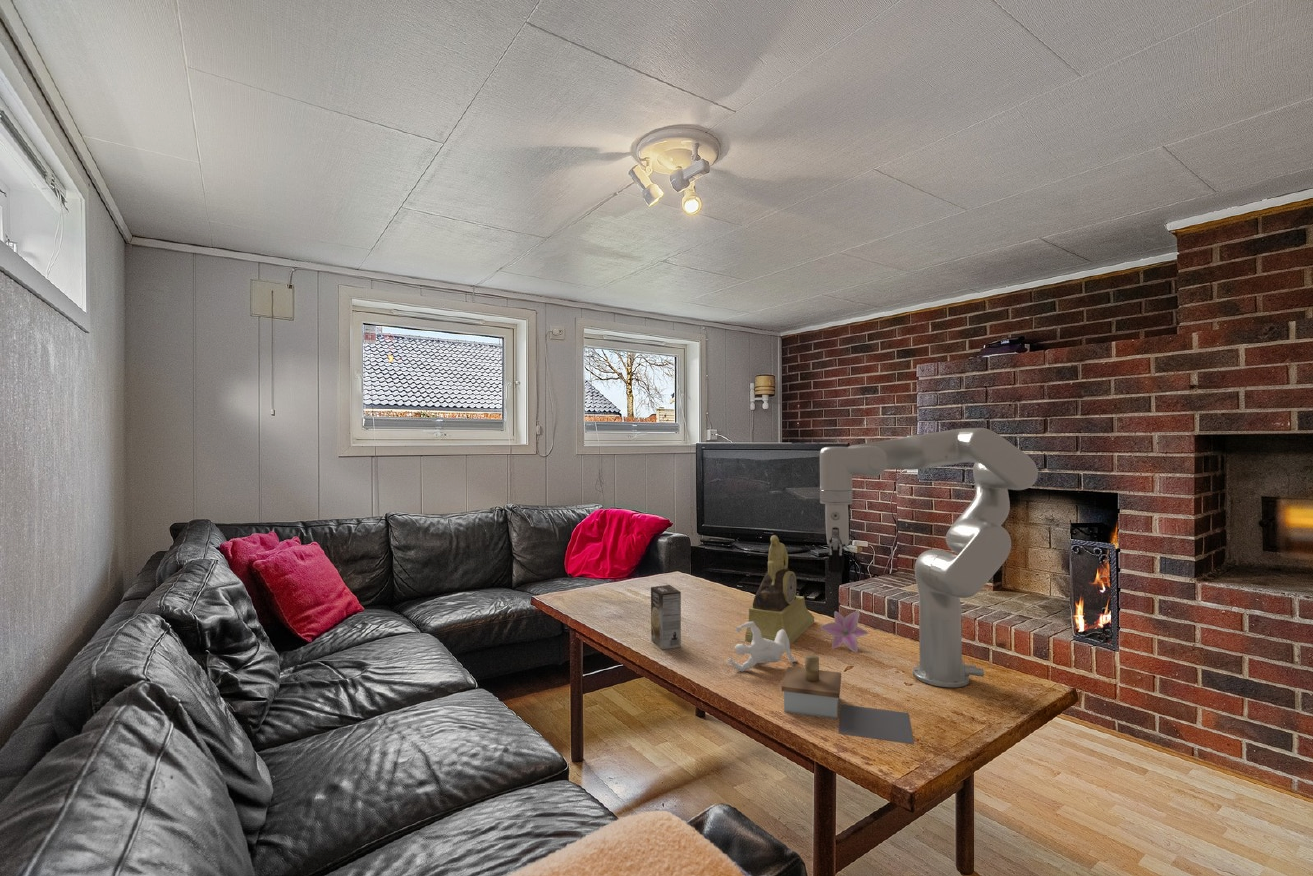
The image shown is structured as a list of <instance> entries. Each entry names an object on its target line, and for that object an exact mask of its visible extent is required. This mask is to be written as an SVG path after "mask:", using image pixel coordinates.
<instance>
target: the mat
mask: <svg viewBox="0 0 1313 876" xmlns="http://www.w3.org/2000/svg"><path fill="white" fill-rule="evenodd" d="M839 708H840V709H839V719H838V720H839V722H838V734H839V735H846V736H854V737H860V738H868V739H874V740H881V741H889V742H895V743H903V744H908V745H915V742H914V736H913V731H912V724H911V719H910V713H909V712H902V711H895V710H887V709H881V708H880V709H879V708H874V707H873V708H872V707H864V706H857V705H856V706H855V705H851V704H850V705H847V704H840V707H839Z"/></svg>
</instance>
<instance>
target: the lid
mask: <svg viewBox="0 0 1313 876" xmlns="http://www.w3.org/2000/svg"><path fill="white" fill-rule="evenodd" d="M841 683H842V672H840V671H831V670H823V669H822V670H821V669H820V657H819V655H817V654H806V655H805V656H804V668H802V667H795V666H787V669H786V672H785V675H784V678H783V680H782V684H781V692H784V691H786V692H794V693H802V694H810V695H818V696H826V697H834V698H839V699H840V696H841V695H840V694H841Z"/></svg>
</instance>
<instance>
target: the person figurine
mask: <svg viewBox="0 0 1313 876" xmlns="http://www.w3.org/2000/svg"><path fill="white" fill-rule="evenodd" d="M747 627H751V631H752V633H753V640H752V642H751V641H750V642H751V643H750V645H747V643H737V644H736V645H735V646H734V651H735V653H736V654H737V655H741V656H744V655H745V654H749V657H748V659H747V661H745V662H743V664H740V663H737V662H736V661H734V660H733V659H732V658H731V657H729V658H728V659H727V662H728V664H731V666H733V667H734V668H735V669H736V670H737V671H740V672H741V673H742V672H745V671H746V670H749V669H750V670H751V669H752V668H754V667H755V665H756V664H768V663H778V662H779V661H781V659H782V656H783V655H784V653H786V655H787V658H788V663H796V662H798V660H797V659H796V658H794V657H793V655H792V652H791V645H790V644H789V639H788V636H787V634H786V632H785V630H784V629H781V630H779V631H778V632H777V636H776V638H775V640H774V641H772V640H769V639H765V638H762V637H761V631H760V629H759V628H758V627H757V626H756V625H755V623H754V622H748V621H747V622H744V623H743V624H741V625H739V626H736V627H735V631H736V632H737V633H739V632H741V631H742V629H747Z"/></svg>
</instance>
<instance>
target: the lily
mask: <svg viewBox="0 0 1313 876" xmlns="http://www.w3.org/2000/svg"><path fill="white" fill-rule="evenodd" d="M833 616H834V617H833V618H834V622H829V623H826V624H823V625H821V626H819V628H820V629H821V630H822V631H823V632H825V633H827V634H829V635H830V636H833V639H832V643H831V644H832V645H831V649H836V648H838V647H840V646H842V644H844V645H845V646H846V647H847V648H848V649H849V650H851V652H852V653H859V652H858V651H859V650H858V638H860V637H863V636H866V635H868V634H869V632H868V631H867V630H865V629H864V628H862V627H859V626H858V624H859V621H860V620H859V619H860V611H859V610H855V611H853V612H851V613H849V614H848V615H846V616H845V617H844V616H843V615H842V614H841V613H839V612H838V611H837V610H836V611H834V613H833Z"/></svg>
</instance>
